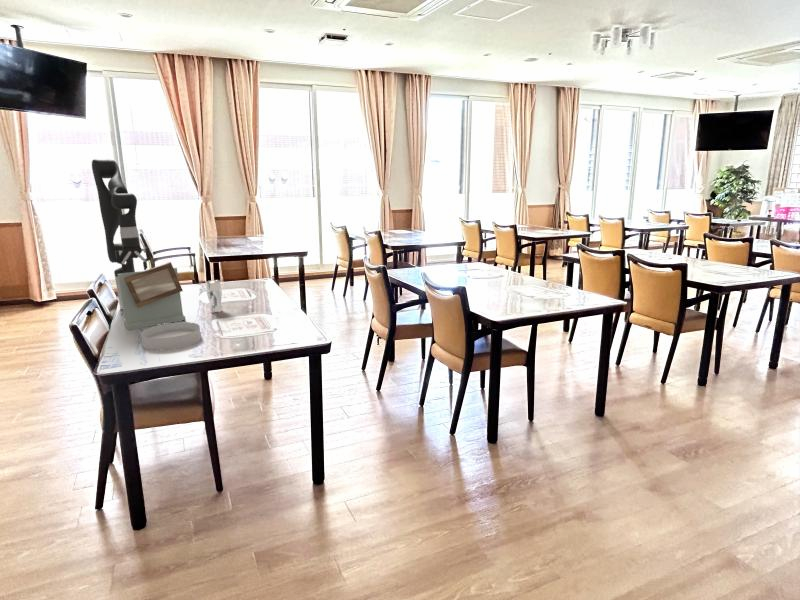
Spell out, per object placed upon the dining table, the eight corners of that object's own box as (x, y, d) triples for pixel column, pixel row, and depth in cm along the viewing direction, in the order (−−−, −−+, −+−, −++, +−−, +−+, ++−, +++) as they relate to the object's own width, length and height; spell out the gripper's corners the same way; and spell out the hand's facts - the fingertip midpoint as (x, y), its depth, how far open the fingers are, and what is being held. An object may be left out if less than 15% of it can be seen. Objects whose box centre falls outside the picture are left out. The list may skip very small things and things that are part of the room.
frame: (137, 307, 227) (123, 278, 222) (181, 290, 236) (170, 261, 231) (137, 307, 225) (124, 278, 220) (182, 290, 235) (171, 262, 230)
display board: (124, 323, 234) (116, 272, 228) (180, 315, 247) (173, 265, 241) (127, 330, 224) (119, 276, 218) (185, 320, 237) (179, 269, 231)
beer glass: (208, 313, 248) (204, 283, 244) (209, 310, 254) (206, 280, 251) (223, 312, 249) (220, 282, 246) (224, 308, 256) (221, 279, 252)
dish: (134, 342, 208) (132, 330, 207) (188, 330, 223) (186, 319, 222) (154, 354, 192) (152, 342, 191) (210, 340, 207) (209, 329, 206)
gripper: (145, 235, 247) (150, 268, 251) (112, 237, 240) (117, 272, 243) (147, 235, 241) (152, 269, 244) (113, 238, 234) (119, 273, 237)
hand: (135, 270), depth 244 cm, fingers open, 8 cm apart
